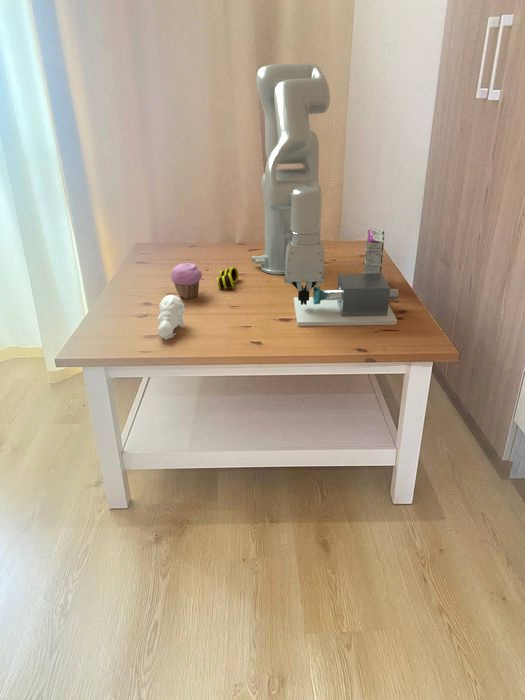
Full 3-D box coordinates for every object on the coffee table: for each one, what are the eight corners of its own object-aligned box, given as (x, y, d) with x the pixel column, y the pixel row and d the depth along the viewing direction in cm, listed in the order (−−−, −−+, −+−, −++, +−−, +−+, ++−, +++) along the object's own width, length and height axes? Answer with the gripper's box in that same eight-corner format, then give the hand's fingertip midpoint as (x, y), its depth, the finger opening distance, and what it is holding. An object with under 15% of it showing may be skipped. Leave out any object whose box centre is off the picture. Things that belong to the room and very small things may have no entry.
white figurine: (184, 292, 139) (173, 316, 130) (187, 320, 144) (177, 345, 134) (160, 291, 140) (148, 315, 130) (164, 319, 145) (153, 344, 135)
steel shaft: (314, 307, 144) (314, 290, 142) (312, 299, 149) (313, 283, 146) (398, 305, 144) (400, 289, 142) (394, 298, 149) (396, 282, 146)
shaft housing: (342, 316, 143) (343, 288, 139) (336, 300, 152) (338, 274, 148) (387, 315, 143) (390, 287, 139) (379, 300, 152) (382, 273, 148)
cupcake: (208, 296, 159) (206, 263, 154) (185, 304, 154) (182, 271, 149) (190, 288, 165) (187, 256, 160) (167, 296, 159) (163, 264, 154)
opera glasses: (224, 281, 171) (220, 266, 169) (240, 279, 170) (236, 264, 168) (218, 293, 163) (214, 278, 161) (235, 290, 162) (231, 275, 160)
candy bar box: (363, 280, 168) (367, 229, 160) (379, 281, 167) (385, 229, 159) (361, 294, 158) (366, 240, 150) (379, 295, 158) (384, 241, 150)
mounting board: (297, 326, 141) (297, 322, 140) (293, 301, 155) (293, 297, 154) (396, 324, 141) (397, 320, 140) (383, 299, 155) (384, 295, 154)
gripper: (276, 241, 134) (276, 308, 143) (336, 241, 134) (332, 308, 143) (276, 232, 141) (276, 297, 150) (333, 232, 140) (329, 297, 149)
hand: (303, 302), depth 146 cm, fingers closed
